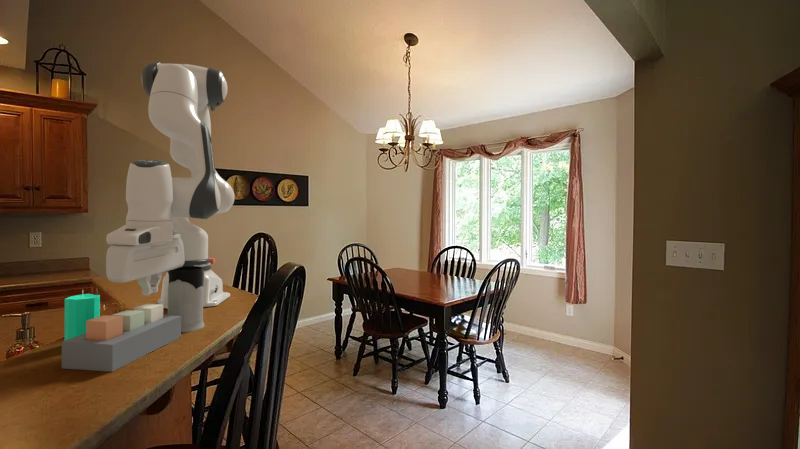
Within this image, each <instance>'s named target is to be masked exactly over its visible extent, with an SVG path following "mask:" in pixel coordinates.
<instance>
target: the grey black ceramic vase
mask: <svg viewBox="0 0 800 449" xmlns="http://www.w3.org/2000/svg"><path fill="white" fill-rule="evenodd" d="M203 287H204V270H203V267H198V266H183V267H180V268H177V269H173V270H169V285H168V309H167V315H172V316H181V332H183V333H190V332H195V331H198V330H201V329H203V328H205V322H204V307H203Z"/></svg>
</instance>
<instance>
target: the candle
mask: <svg viewBox="0 0 800 449" xmlns="http://www.w3.org/2000/svg"><path fill="white" fill-rule="evenodd" d="M81 291H82V292H81V293H82V294H77V295H72V296H68V297H67V298H64V341H65V340H68V339H70V338H73V337H76V336H79V335H82V334H85V333H86V321H87V320H90V319H93V318H97V317H100V316H101V310H100V309H101V295H100V294H91V293H84V289H82V290H81Z"/></svg>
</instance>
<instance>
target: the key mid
mask: <svg viewBox="0 0 800 449" xmlns="http://www.w3.org/2000/svg"><path fill="white" fill-rule="evenodd" d="M144 312H145V311H137V310H134V309H126V310H121V311H120V312H116V313H113V314H111V316H123V331H132V330H135V329H137V328H140V327H142V326H144Z"/></svg>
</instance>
